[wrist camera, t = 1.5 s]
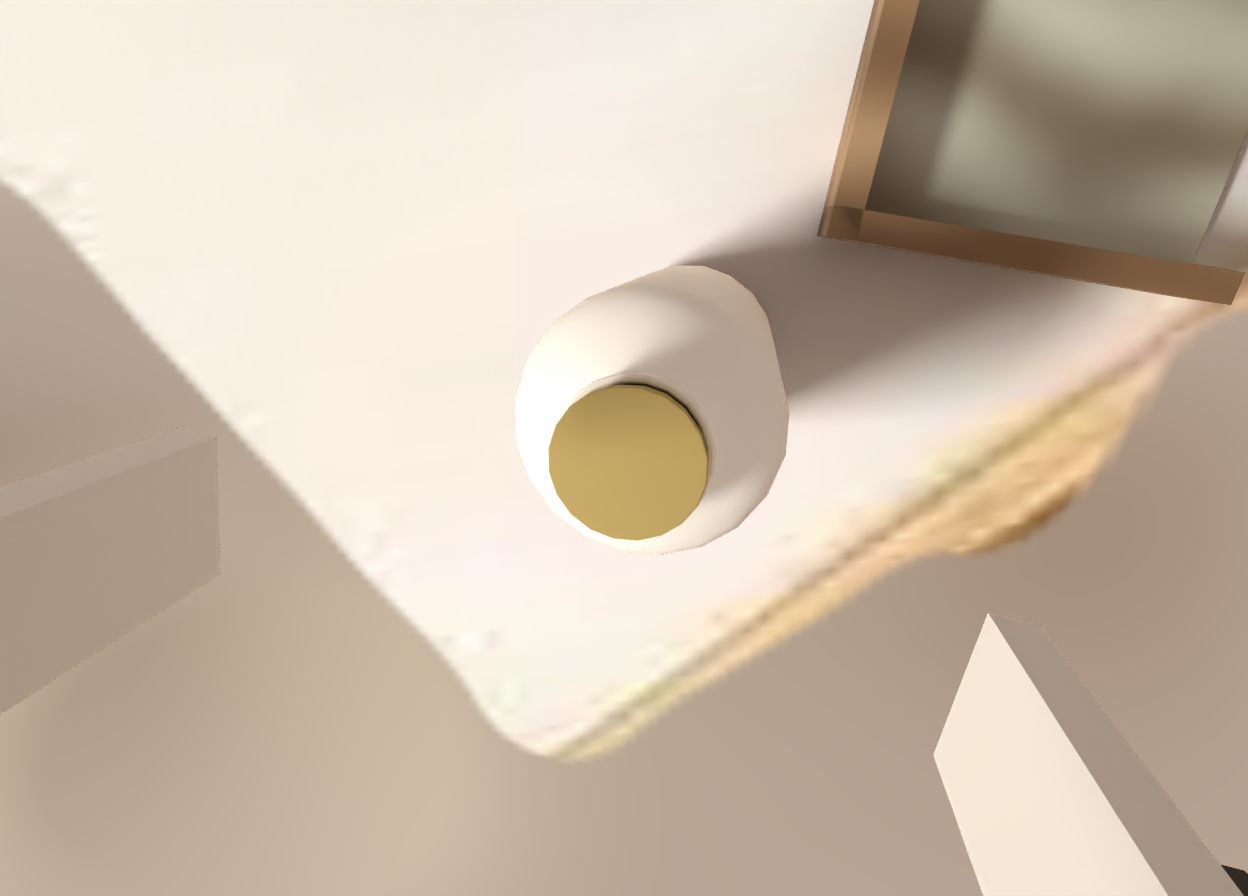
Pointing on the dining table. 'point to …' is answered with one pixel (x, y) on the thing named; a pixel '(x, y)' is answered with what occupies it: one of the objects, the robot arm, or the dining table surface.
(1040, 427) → the dining table surface
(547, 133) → the dining table surface
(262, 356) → the dining table surface
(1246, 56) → the u rest
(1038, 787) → the robot arm
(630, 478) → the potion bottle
